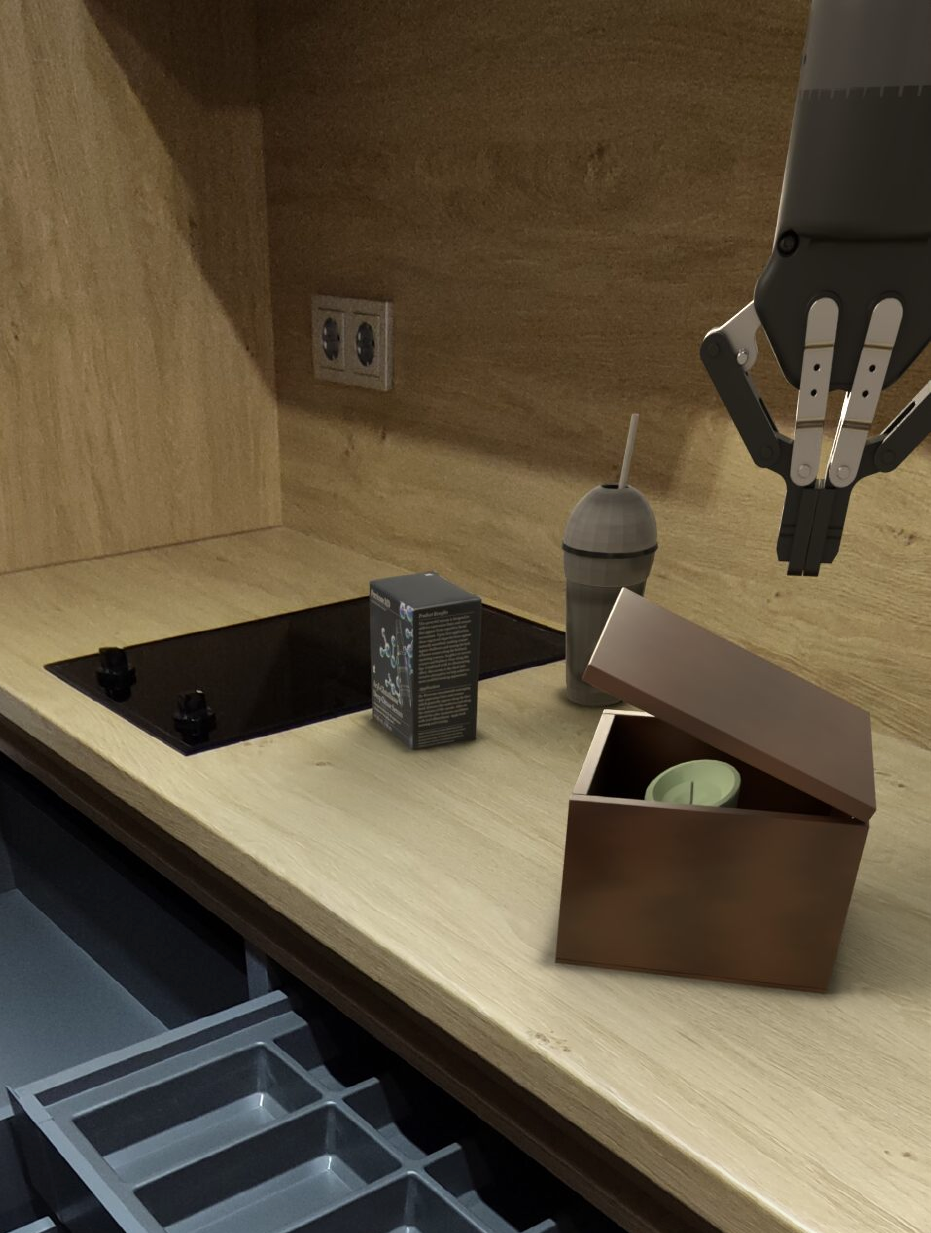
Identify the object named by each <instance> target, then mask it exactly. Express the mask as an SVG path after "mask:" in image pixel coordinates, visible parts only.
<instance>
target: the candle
mask: <svg viewBox="0 0 931 1233" xmlns="http://www.w3.org/2000/svg"><path fill="white" fill-rule="evenodd" d="M740 786H741V777H740V774H739V773H738V772H737V770H736V769H735V768H734V767H733V766H731V765H729V764H727V763H724V762H721V761H717V760H695V761H690V762H686V763H682V764H679V765H676V766H674V767H671V768H669V769H668V770H666V771H664V772H663V773H661V774H660V775H659V776H657V777H656V778H655V779H654V780H653V781H652V782H651V784H650V785H649V787H648V788H647V791H646V795H645V801H656V802H668V803H679V804H691V805H702V806H714V807H725V808H737V803H738V797H739V792H740Z"/></svg>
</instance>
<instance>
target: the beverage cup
mask: <svg viewBox="0 0 931 1233" xmlns="http://www.w3.org/2000/svg"><path fill="white" fill-rule="evenodd" d="M639 418H640V414H639V413H632V414H631V418H630V424H629V427H628V428H629V429H628V433H627V438H626V439H627V440H626V445H625V450H624V456H623V460H622V467H621V470H620V472H621V473H620V477H619V482H607V483H603V484H600V485H598V486H595V487H594V488H592V489H590V490H589V491H588V492H587V493H586V494H585V495H584V496H582V497H581V498H580V499H579V500H578V502H577V503H576V504H575V505H574V507H573V509H572V511H571V513H570V515H569V517H568V520H567V522H566V525H565V529H564V534H563V539H562V541H561V545H560V546H561V550H562V563H563V573H564V577H565V685H566V686H565V687H566V697H567V699H568V700H570V702H573V703H575V704H579V705H582V706H590V707H603V706H605V707H606V706H612V705H615V704H618V703H619V702H621V701H622V700H621V699H619V698H617V697H615V696H613V695H611V694H609V693H607V692H605V691H603V690H601V689H599V688H597V687H595V686H593V685H591V684H589V683H587V682H585V681H583V680H582V676H583V674H584V672H585V670H586V667H587V665H588V663H589V661H590V658H591V656H592V654H593V652H594V649H595V647H596V645H597V643H598V640H599V638H600V636H601V634H602V631H603V629H604V627H605V625H606V622H607V620H608V618H609V616H610V613H611V611H612V609H613V607H614V604H615V602H616V600H617V598H618V596H619V593H620V591H621V589H622V588H623V587H624V588H626V589H628V590H630V591H632V592H634V593H636V594H638V595H640V596H642V597H644V598H645V592H646V587H647V581H648V579H649V577H650V575H651V571H652V569H653V565H654V561H655V556H656V555H655V554H656V552H657V551H658V549H659V543H658V528H657V527H658V526H657V521H656V516H655V513H654V511H653V508H652V506H651V505H650V502H649V501H648V499H647V498H646V497H645V495H644V494H643V493H642V492H641V491H640V490H638V489H637V488H636V487H635V486H634V487H633V486H632V485H631V484H627V483H628V477H629V471H630V466H631V462H632V456H633V451H634V445H635V439H636V435H637V429H638V422H639Z"/></svg>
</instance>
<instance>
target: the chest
mask: <svg viewBox="0 0 931 1233" xmlns="http://www.w3.org/2000/svg"><path fill="white" fill-rule="evenodd" d="M695 760H717V761H721V762H724V763H727V764H729V765H731V766H733V767H734V768H735V769H736V770H737V772H738V773H739V774H740V777H741V786H740V792H739V797H738V803H737V808H725V807H714V806H702V805H691V804H679V803H668V802H656V801H645V795H646V791H647V788H648V787H649V785H650V784H651V782H652V781H653V780H654V779H655V778H656V777H657V776H659V775H660V774H661V773H663V772H664V771H666V770H668V769H669V768H671V767H674V766H676V765H679V764H682V763H686V762H690V761H695ZM870 828H871V827H870V820H869V821H868V822H867V823H865V822H863V821H861V820H859V819H857V818H855V817H853V816H851V815H849V814H847V813H845V812H843V811H841V810H839V809H837V808H835V807H833V806H831V805H829V804H827V803H825V802H823V801H821V800H819V799H817V798H815V797H813V796H811V795H809V794H807V793H805V792H803V791H801V790H799V789H797V788H795V787H793V786H791V785H789V784H787V783H785V782H783V781H781V780H779V779H777V778H775V777H773V776H771V775H770V774H768V773H766V772H764V771H762V770H760V769H758V768H756V767H754V766H752V765H750V764H748V763H746V762H744V761H742V760H740V759H738V758H736V757H734V756H732V755H730V754H728V753H726V752H724V751H722V750H720V749H718V748H716V747H714V746H712V745H710V744H708V743H706V742H704V741H702V740H700V739H698V738H696V737H694V736H692V735H690V734H688V733H686V732H684V731H682V730H680V729H678V728H676V727H674V726H672V725H670V724H668V723H666V722H664V721H662V720H660V719H658V718H656V717H654V716H652V715H650V714H649V713H647V712H645V711H635V710H620V709H608V708H606V709H603V711H602V713H601V717H600V719H599V722H598V724H597V727H596V730H595V732H594V734H593V738H592V740H591V743H590V745H589V748H588V750H587V753H586V755H585V759H584V761H583V763H582V766H581V768H580V772H579V774H578V777H577V778H576V781H575V785H574V787H573V790H572V792H571V795H570V797H569V800H568V811H567V821H566V831H565V832H566V833H565V841H564V842H565V844H564V853H563V854H564V855H563V865H562V878H561V886H560V889H561V890H560V898H559V899H560V900H559V910H558V911H559V912H558V922H557V933H556V946H555V956H554V963H555V964H562V965H570V966H578V967H589V968H596V969H603V970H613V971H621V972H631V973H639V974H648V975H656V976H665V977H674V978H681V979H682V978H683V979H692V980H699V981H706V982H707V981H709V982H717V983H724V984H726V983H727V984H734V985H742V986H751V987H761V988H767V989H768V988H769V989H777V990H786V991H795V992H804V993H810V994H811V993H812V994H813V993H814V994H820V995H827V993H828V989H829V985H830V982H831V978H832V974H833V971H834V966H835V963H836V958H837V954H838V950H839V946H840V942H841V939H842V935H843V932H844V928H845V924H846V919H847V916H848V911H849V908H850V904H851V901H852V896H853V892H854V890H855V885H856V882H857V877H858V874H859V870H860V865H861V862H862V858H863V853H864V850H865V846H866V843H867V839H868V835H869V830H870Z"/></svg>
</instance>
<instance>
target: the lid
mask: <svg viewBox="0 0 931 1233" xmlns="http://www.w3.org/2000/svg"><path fill="white" fill-rule="evenodd" d="M582 680H583V681H585V682H587V683H589V684H591V685H593V686H595V687H597V688H599V689H601V690H603V691H605V692H607V693H609V694H611V695H613V696H615V697H617V698H619V699H621V701H623V702H625V703H627V704H629V705H630V706H633V707H635V708H637V709H638V710H640V711H642V712H647V713H649V714H650V715H652V716H654V717H656V718H658V719H660V720H662V721H664V722H666V723H668V724H670V725H672V726H674V727H676V728H678V729H680V730H682V731H684V732H686V733H688V734H690V735H692V736H694V737H696V738H698V739H700V740H702V741H704V742H706V743H708V744H710V745H712V746H714V747H716V748H718V749H720V750H722V751H724V752H726V753H728V754H730V755H732V756H734V757H736V758H738V759H740V760H742V761H744V762H746V763H748V764H750V765H752V766H754V767H756V768H758V769H760V770H762V771H764V772H766V773H768V774H770V775H771V776H773V777H775V778H777V779H779V780H781V781H783V782H785V783H787V784H789V785H791V786H793V787H795V788H797V789H799V790H801V791H803V792H805V793H807V794H809V795H811V796H813V797H815V798H817V799H819V800H821V801H823V802H825V803H827V804H829V805H831V806H833V807H835V808H837V809H839V810H841V811H843V812H845V813H847V814H849V815H851V816H853V817H855V818H857V819H859V820H861V821H863V822H865V823H867V822H868V821H869V822H870V820H871V819H872V817H873V816H874V814H875V813H876V812H877V799H876V798H877V797H876V781H875V768H874V753H873V752H874V751H873V737H872V722H871V712H869V711H868V710H866V709H864V708H861V707H859V706H858V705H855V704H853V703H852V702H850V701H848V700H846V699H844V698H842V697H840V696H838V695H836V694H834V693H832V692H830V691H829V690H826V689H824V688H822V687H821V686H818V685H816V684H814V683H813V682H811V681H809V680H807V679H805V678H803V677H801V676H799V675H797V674H796V673H793V672H791V671H789V670H787V669H785V668H783V667H782V666H779V665H777V664H775V663H773V662H772V661H769V660H768V659H766V658H764V657H761V656H760V655H757V654H756V653H754V652H752V651H750V650H748V649H746V648H744V647H742V646H740V645H738V644H736V643H735V642H732V641H731V640H729V639H726V638H724V637H722V636H720V635H718V634H717V633H715V632H712V631H710V630H709V629H707V628H705V627H703V626H701V625H699V624H697V623H695V622H693V621H691V620H689V619H687V618H685V617H683V616H681V615H679V614H677V613H675V612H673V611H671V610H669V609H667V608H665V607H664V606H661V605H659V604H658V603H656V602H653V601H652V600H650V599H648V598H647V597H645V596H644V597H642V596H640V595H638V594H636V593H634V592H632V591H630V590H628V589H626V588H624V587H623V588H622V589H621V591H620V593H619V596H618V598H617V600H616V602H615V604H614V607H613V609H612V611H611V613H610V616H609V618H608V620H607V622H606V625H605V627H604V629H603V631H602V634H601V636H600V638H599V640H598V643H597V645H596V647H595V649H594V652H593V654H592V656H591V658H590V661H589V663H588V665H587V667H586V670H585V672H584V674H583V676H582Z"/></svg>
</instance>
